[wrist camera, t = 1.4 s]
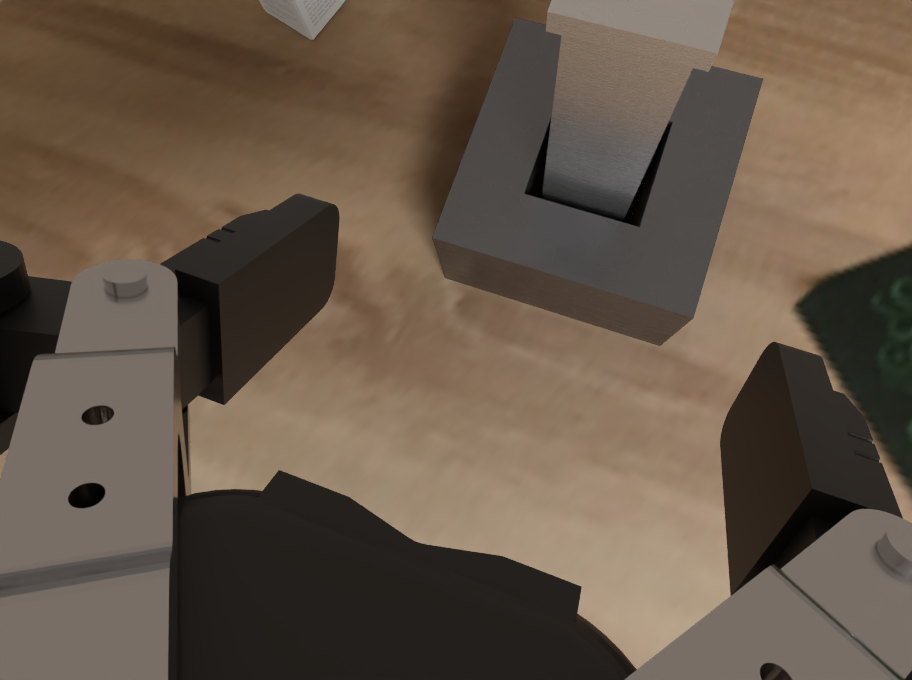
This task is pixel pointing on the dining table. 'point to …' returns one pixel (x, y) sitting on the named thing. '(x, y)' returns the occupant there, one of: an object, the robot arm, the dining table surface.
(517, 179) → the block
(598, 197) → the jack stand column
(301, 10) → the skincare box
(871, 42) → the dining table surface
